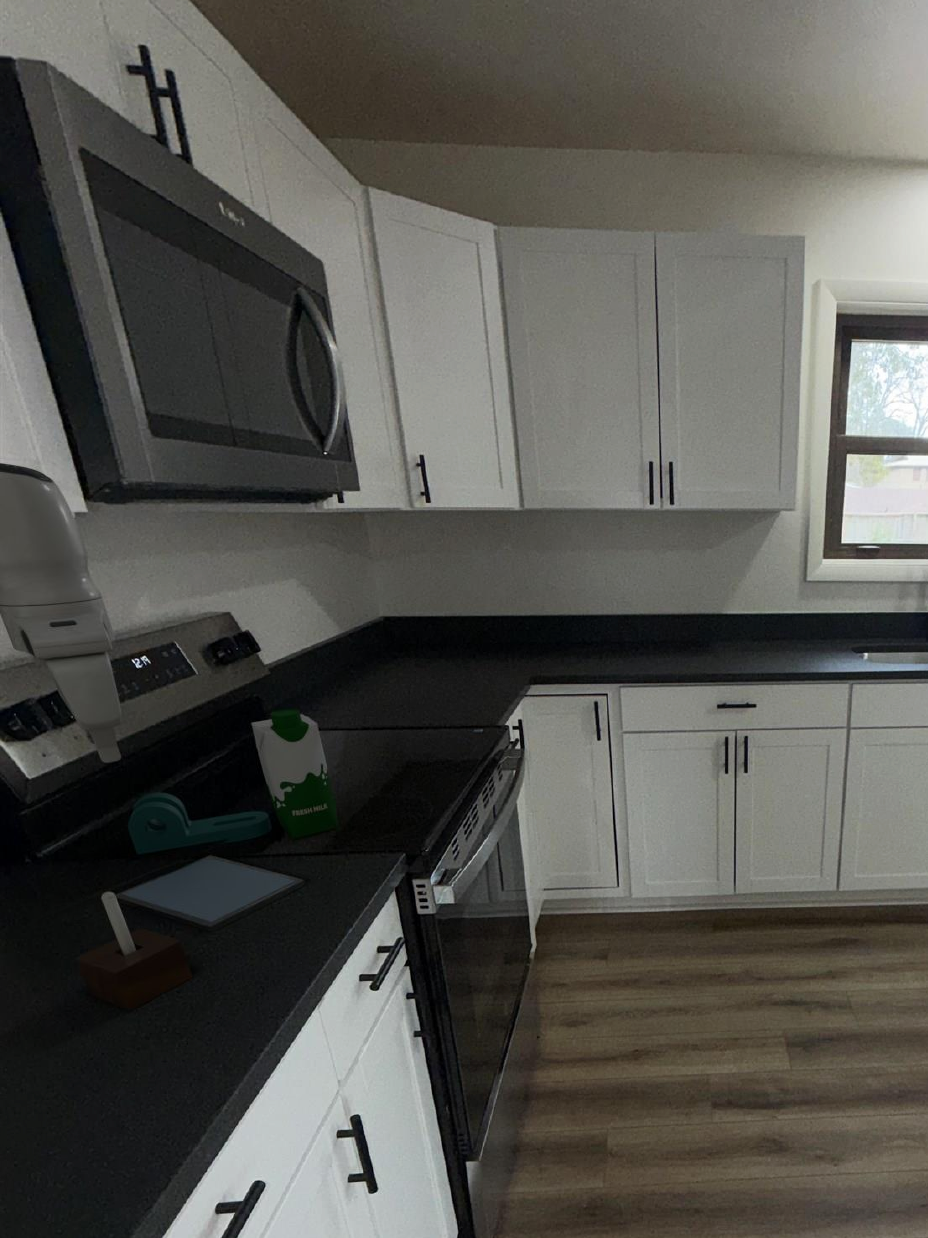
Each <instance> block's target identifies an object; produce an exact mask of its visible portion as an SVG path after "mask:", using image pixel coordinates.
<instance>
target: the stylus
mask: <svg viewBox="0 0 928 1238" xmlns="http://www.w3.org/2000/svg"><path fill="white" fill-rule="evenodd" d="M115 895H116V893H114V892H112V891H105V892H104V893H102V895H101V901H102V903H103V906H104V909H105V911H106V914H107V916H108V919H109V922H110V924H111V927H112V929H113V932H114V934H115V937H116V939H117V940H118V942H119V945H120V947H121V950H122V952H123V955H124V956H126V955H128V954H131V953H133V952H135V951H136V948H135V946H134V943H133V940H132V938H131V935H130V933H131V932H130V929H129V927H128V925H127V922H126V919H125V917H124V915H123V912H122V910H121V907H120V903H119V902H118V901H117V899H116V896H115Z"/></svg>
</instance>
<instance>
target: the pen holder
mask: <svg viewBox="0 0 928 1238" xmlns="http://www.w3.org/2000/svg"><path fill="white" fill-rule="evenodd" d="M129 933H130V935H131V938H132V940H133V943H134V946H135V948H136V951H135V952H133V953H131V954H128V955H126V956H124V955H123V952H122V950H121V947H120V945H119V942H118V940H117V938H116V939H114V940H112V941H110V942H107V943H105V944H103V945H102V946H99V947H97V948H95V949H93V950H91V951H88V952H86V953H84V954H81V955H79V956H77V957H75V961H76V963H77V966H78V968H79V970H80V972H81V975H82V977H83V980H84V982H85V984H86V987H87V989H88V991H89V994H90V996H92V997H94V998H96V999H99V1000H101V1001H104V1002H106V1003H108V1004H111V1005H114V1006H116V1007H119V1008H121V1009H123V1010H126V1011H129V1012H132V1011H134V1010H135V1009H137V1008H139V1007H141V1006H143V1005H144V1004H146V1003H148V1002H150V1001H152V1000H154V999H155V998H158V997H159V996H161V995H163V994H165V993H167V992H169V991H170V990H173V989H174V988H176V987H178V986H180V985H181V984H183V983H185V982H187V981H189V980H191V979H193V974H192V971H191V969H190V966H189V963H188V960H187V957H186V953H185V951H184V948H183V946H182V942H181V941H180V940H178V939H175V938H172V937H170V936H166V935H164V934H161V933H158V932H154V931H152V930H148V929H146V928H142V927H140V928H138V929H136V930H134V931H132V932H129Z"/></svg>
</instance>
